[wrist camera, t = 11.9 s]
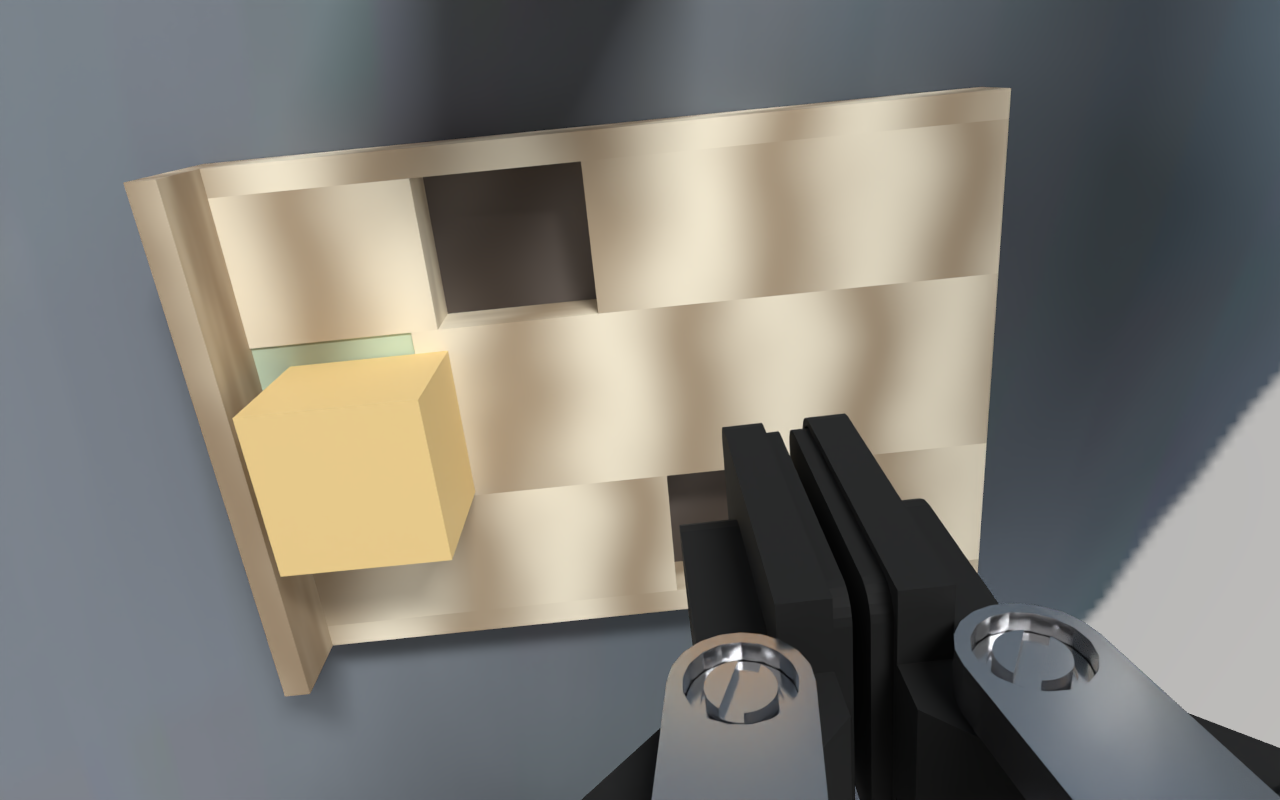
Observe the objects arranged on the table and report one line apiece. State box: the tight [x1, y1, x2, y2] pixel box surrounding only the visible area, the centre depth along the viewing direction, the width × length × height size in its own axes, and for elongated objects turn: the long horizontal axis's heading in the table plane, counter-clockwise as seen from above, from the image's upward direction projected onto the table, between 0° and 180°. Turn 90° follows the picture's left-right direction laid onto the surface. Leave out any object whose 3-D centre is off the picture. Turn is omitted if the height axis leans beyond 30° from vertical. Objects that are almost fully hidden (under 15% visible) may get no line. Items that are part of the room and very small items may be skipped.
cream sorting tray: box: [124, 87, 1011, 696], centre depth 32 cm, size 29×20×6 cm
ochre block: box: [232, 351, 475, 577], centre depth 30 cm, size 6×6×5 cm
